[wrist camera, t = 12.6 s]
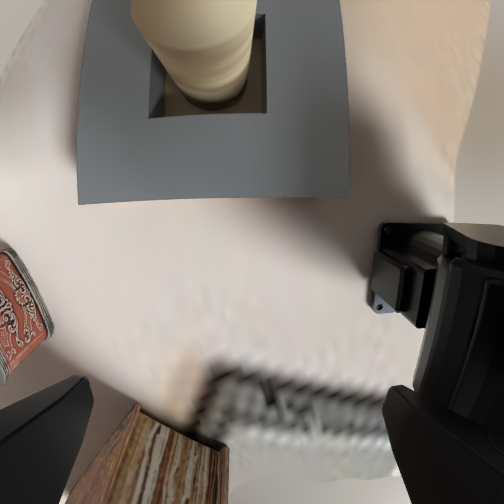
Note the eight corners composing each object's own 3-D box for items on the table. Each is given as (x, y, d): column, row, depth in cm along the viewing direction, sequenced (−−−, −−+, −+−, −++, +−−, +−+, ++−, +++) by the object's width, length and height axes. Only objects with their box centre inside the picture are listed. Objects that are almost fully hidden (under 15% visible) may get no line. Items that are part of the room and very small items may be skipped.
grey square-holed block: (318, 1, 16) (334, -32, 12) (326, 193, 20) (349, 198, 15) (119, 10, 16) (96, -19, 12) (109, 198, 19) (78, 205, 15)
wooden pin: (247, 50, 17) (256, -49, 7) (247, 110, 17) (258, 42, 8) (181, 53, 16) (138, -39, 7) (179, 112, 17) (124, 53, 8)
